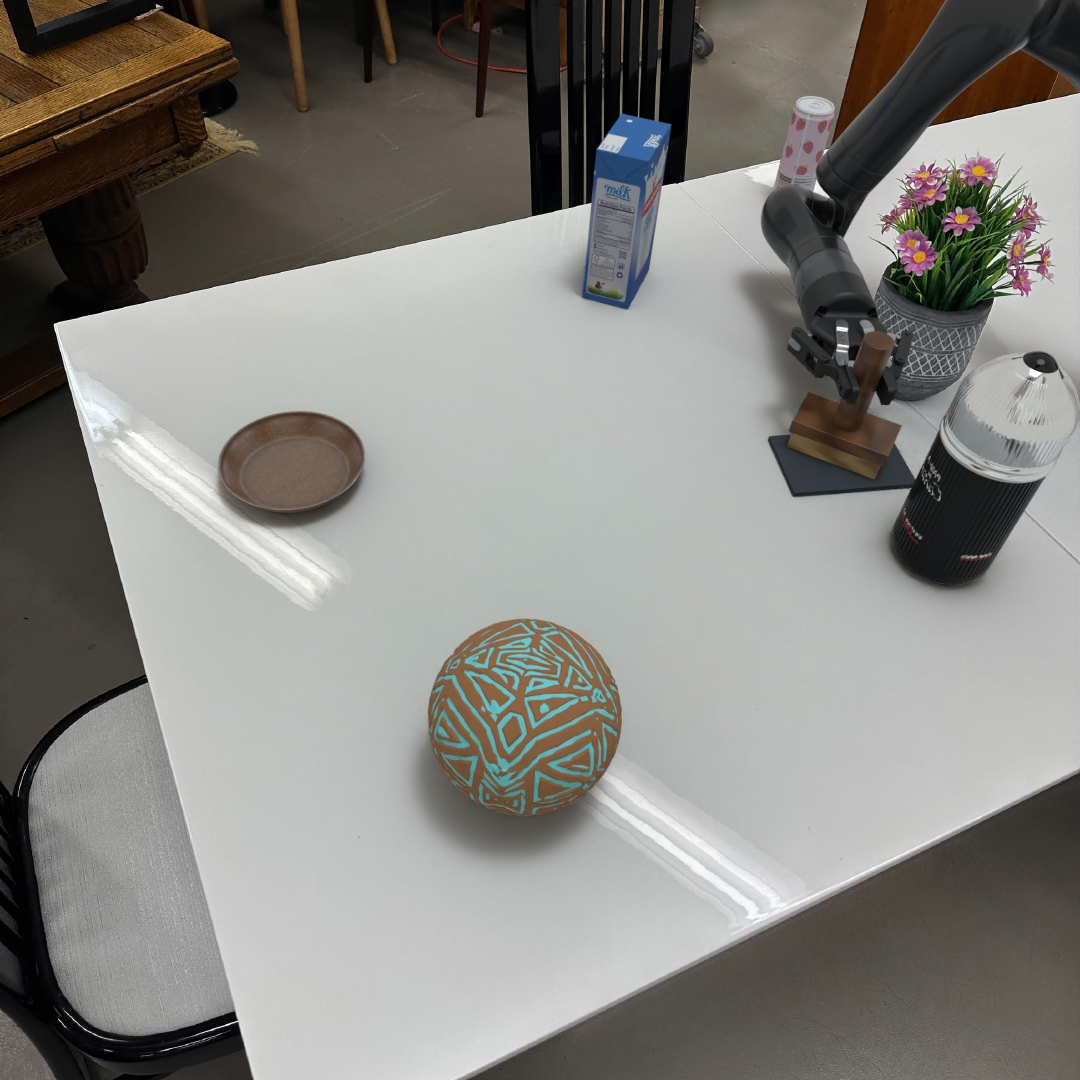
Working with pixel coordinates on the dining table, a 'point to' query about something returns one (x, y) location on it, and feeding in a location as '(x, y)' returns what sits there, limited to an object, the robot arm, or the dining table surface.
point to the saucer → (291, 461)
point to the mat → (835, 472)
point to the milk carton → (624, 209)
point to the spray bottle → (985, 465)
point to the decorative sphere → (524, 717)
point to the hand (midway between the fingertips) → (871, 397)
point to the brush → (849, 418)
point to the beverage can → (805, 142)
